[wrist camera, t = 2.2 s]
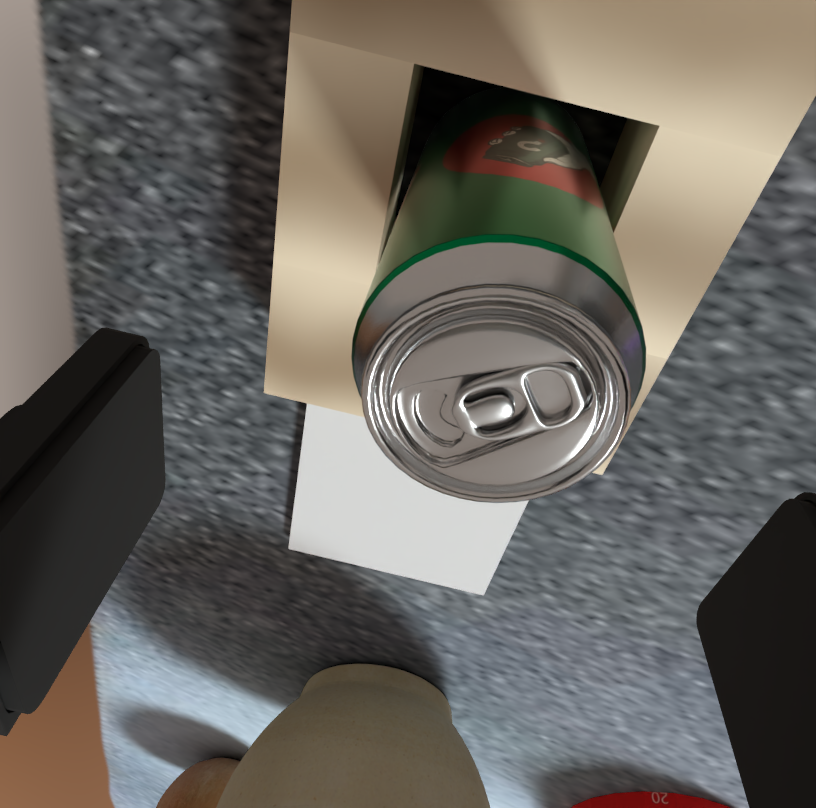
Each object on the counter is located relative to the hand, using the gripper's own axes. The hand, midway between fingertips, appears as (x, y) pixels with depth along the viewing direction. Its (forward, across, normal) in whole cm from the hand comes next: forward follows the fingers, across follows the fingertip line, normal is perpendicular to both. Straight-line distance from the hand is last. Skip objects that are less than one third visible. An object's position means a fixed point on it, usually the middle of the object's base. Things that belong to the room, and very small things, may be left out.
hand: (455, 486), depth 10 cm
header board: (+13, -1, -1) cm, 13 cm away
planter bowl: (+14, -3, +33) cm, 36 cm away
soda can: (+13, -1, -1) cm, 13 cm away
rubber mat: (+14, -1, +14) cm, 20 cm away
